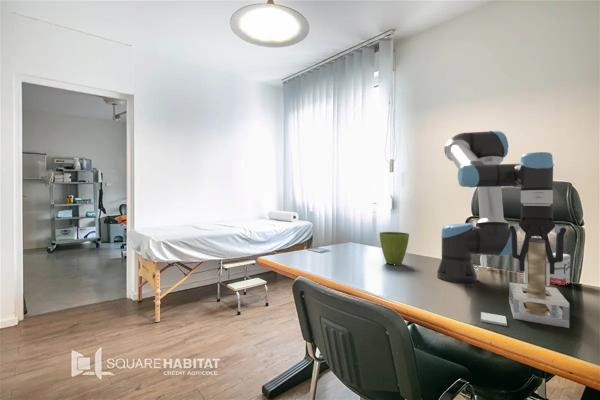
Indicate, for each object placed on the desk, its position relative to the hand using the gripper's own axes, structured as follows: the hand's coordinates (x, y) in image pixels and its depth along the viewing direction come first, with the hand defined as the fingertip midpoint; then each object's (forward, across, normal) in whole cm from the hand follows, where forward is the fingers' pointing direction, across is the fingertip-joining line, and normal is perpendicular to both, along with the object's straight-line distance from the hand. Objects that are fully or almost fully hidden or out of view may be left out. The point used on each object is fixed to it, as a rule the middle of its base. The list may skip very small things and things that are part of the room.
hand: (536, 283), depth 89 cm
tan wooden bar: (+7, 0, 0) cm, 7 cm away
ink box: (+9, +13, +45) cm, 48 cm away
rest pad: (+9, -11, -12) cm, 19 cm away
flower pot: (+9, -53, +47) cm, 72 cm away
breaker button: (+9, 0, 0) cm, 9 cm away
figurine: (+9, -13, +59) cm, 61 cm away
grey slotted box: (+9, 0, 0) cm, 9 cm away
